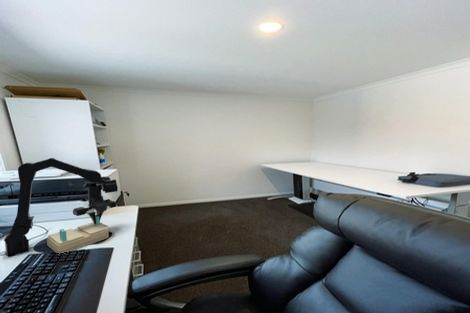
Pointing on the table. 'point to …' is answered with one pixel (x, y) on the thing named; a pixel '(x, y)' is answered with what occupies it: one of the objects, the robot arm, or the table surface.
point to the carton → (77, 241)
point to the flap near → (65, 236)
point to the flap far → (94, 227)
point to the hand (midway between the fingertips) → (96, 223)
